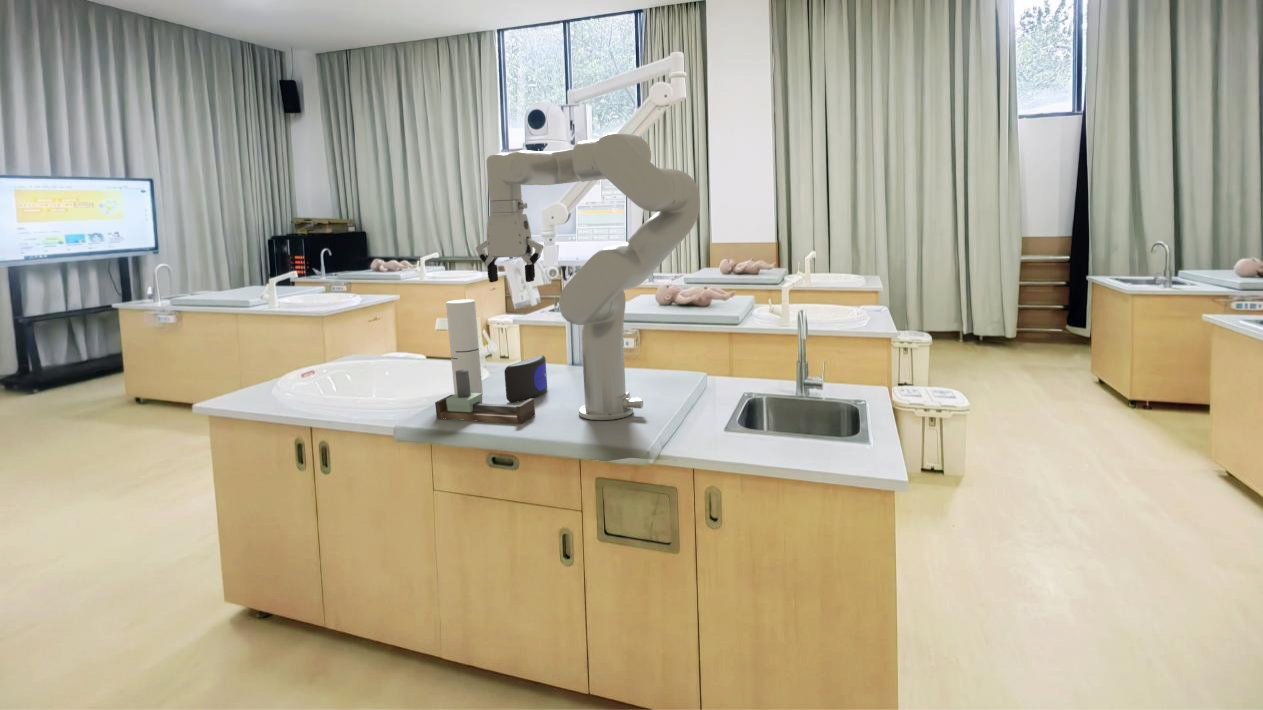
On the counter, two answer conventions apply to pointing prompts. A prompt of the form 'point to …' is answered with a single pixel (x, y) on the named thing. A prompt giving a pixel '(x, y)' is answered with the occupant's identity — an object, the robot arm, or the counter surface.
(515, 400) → the black curved block
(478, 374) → the cylindrical container
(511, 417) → the board
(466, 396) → the carriage
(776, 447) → the counter surface
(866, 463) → the counter surface
